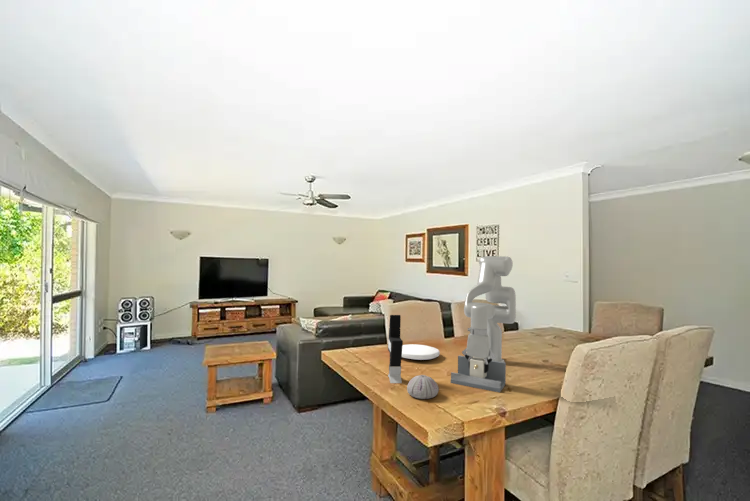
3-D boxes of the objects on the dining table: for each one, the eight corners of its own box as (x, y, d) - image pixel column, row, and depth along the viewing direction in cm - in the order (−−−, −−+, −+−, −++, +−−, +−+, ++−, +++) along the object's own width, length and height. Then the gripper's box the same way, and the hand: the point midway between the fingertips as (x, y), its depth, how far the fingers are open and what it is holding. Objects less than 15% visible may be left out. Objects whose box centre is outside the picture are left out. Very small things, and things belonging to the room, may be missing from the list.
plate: (397, 341, 230) (440, 344, 225) (396, 352, 229) (440, 355, 224) (390, 347, 203) (439, 351, 198) (389, 359, 202) (438, 363, 197)
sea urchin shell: (445, 397, 151) (445, 377, 151) (420, 403, 144) (420, 383, 144) (424, 387, 162) (424, 369, 163) (399, 393, 155) (400, 374, 155)
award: (386, 374, 180) (388, 312, 180) (397, 374, 180) (398, 312, 181) (390, 384, 164) (392, 317, 165) (402, 384, 165) (403, 317, 166)
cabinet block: (473, 373, 173) (474, 356, 173) (486, 375, 170) (486, 358, 170) (469, 377, 166) (469, 360, 166) (482, 380, 163) (482, 362, 163)
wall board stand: (458, 375, 179) (458, 355, 179) (505, 384, 168) (505, 362, 168) (450, 382, 169) (450, 361, 169) (499, 392, 157) (500, 369, 158)
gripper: (458, 330, 170) (457, 369, 170) (496, 335, 162) (495, 376, 161) (463, 328, 177) (462, 365, 176) (499, 332, 168) (499, 372, 168)
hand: (478, 370), depth 169 cm, fingers closed on cabinet block, 6 cm apart
